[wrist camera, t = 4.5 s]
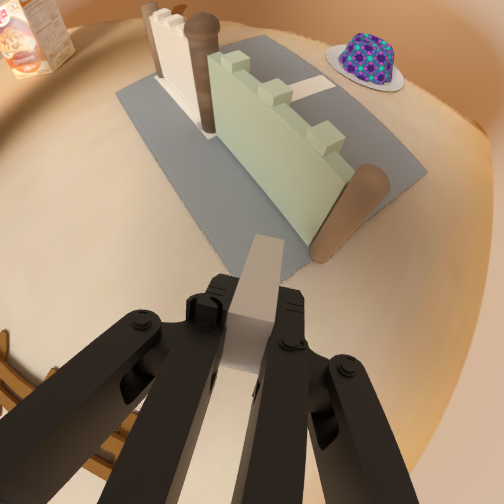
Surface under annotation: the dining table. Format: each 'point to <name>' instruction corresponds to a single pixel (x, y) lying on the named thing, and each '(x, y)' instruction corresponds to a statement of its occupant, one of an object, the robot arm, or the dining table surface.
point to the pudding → (367, 62)
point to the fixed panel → (170, 50)
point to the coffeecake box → (33, 37)
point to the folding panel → (292, 156)
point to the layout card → (233, 172)
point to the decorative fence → (5, 373)
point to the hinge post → (203, 62)
